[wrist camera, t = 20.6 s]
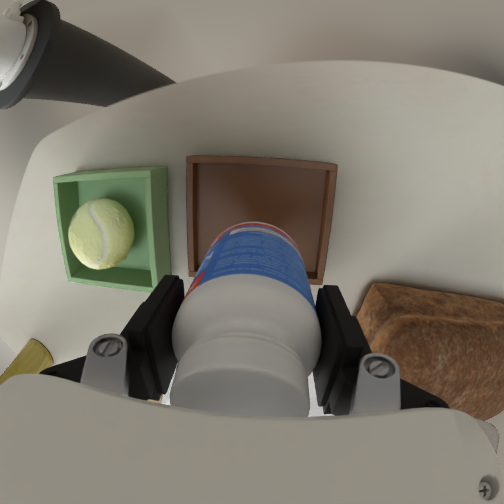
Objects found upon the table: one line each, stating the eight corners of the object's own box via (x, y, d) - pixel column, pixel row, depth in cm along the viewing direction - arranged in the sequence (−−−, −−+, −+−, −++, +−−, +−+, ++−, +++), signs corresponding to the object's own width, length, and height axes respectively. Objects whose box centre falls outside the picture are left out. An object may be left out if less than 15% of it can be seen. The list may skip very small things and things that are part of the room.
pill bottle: (206, 217, 15) (124, 324, 6) (307, 222, 15) (362, 341, 6) (208, 304, 17) (163, 442, 8) (296, 310, 17) (315, 454, 8)
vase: (25, 333, 35) (-19, 382, 22) (49, 346, 35) (5, 401, 22) (33, 357, 37) (-5, 405, 24) (56, 370, 37) (19, 423, 24)
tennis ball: (116, 178, 25) (77, 190, 18) (159, 226, 26) (129, 251, 20) (84, 220, 26) (46, 241, 20) (123, 264, 28) (92, 294, 22)
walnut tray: (192, 155, 24) (186, 156, 22) (332, 163, 24) (337, 164, 22) (193, 268, 28) (188, 276, 26) (318, 275, 28) (322, 285, 26)
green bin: (75, 171, 25) (52, 177, 21) (167, 166, 24) (150, 170, 21) (86, 266, 29) (68, 281, 25) (171, 275, 29) (158, 293, 25)
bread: (361, 270, 27) (414, 354, 15) (514, 299, 28) (561, 344, 16) (315, 383, 34) (326, 468, 21) (467, 380, 34) (496, 431, 22)
